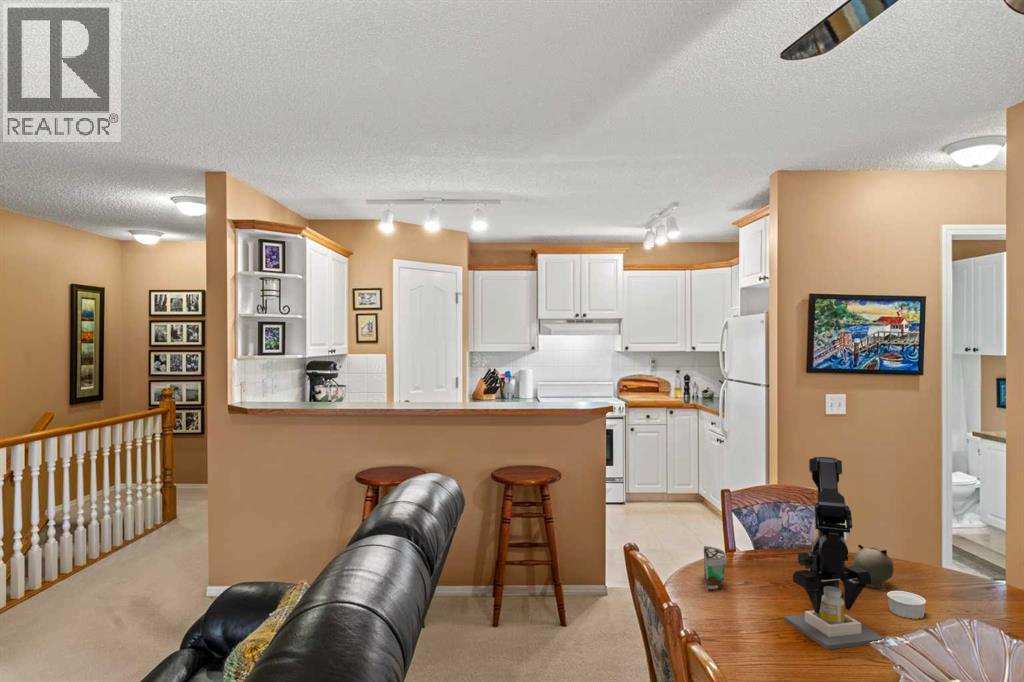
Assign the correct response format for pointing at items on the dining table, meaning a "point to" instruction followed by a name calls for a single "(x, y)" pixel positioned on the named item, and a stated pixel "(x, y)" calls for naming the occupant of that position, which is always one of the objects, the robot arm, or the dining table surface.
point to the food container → (714, 568)
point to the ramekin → (906, 604)
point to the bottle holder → (832, 631)
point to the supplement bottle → (832, 606)
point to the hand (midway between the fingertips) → (832, 611)
